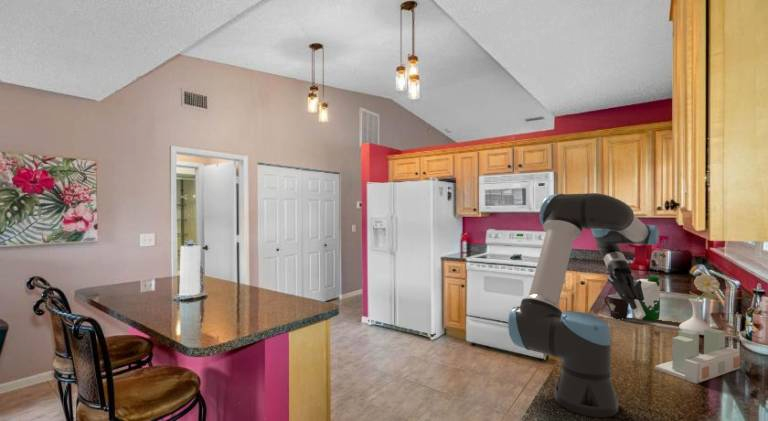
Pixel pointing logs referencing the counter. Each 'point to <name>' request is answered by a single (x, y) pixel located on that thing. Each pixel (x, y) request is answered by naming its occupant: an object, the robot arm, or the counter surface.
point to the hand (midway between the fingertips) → (641, 316)
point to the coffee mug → (617, 306)
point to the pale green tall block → (681, 352)
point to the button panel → (695, 364)
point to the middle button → (693, 336)
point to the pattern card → (719, 366)
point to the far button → (713, 340)
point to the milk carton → (651, 298)
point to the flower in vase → (700, 303)
